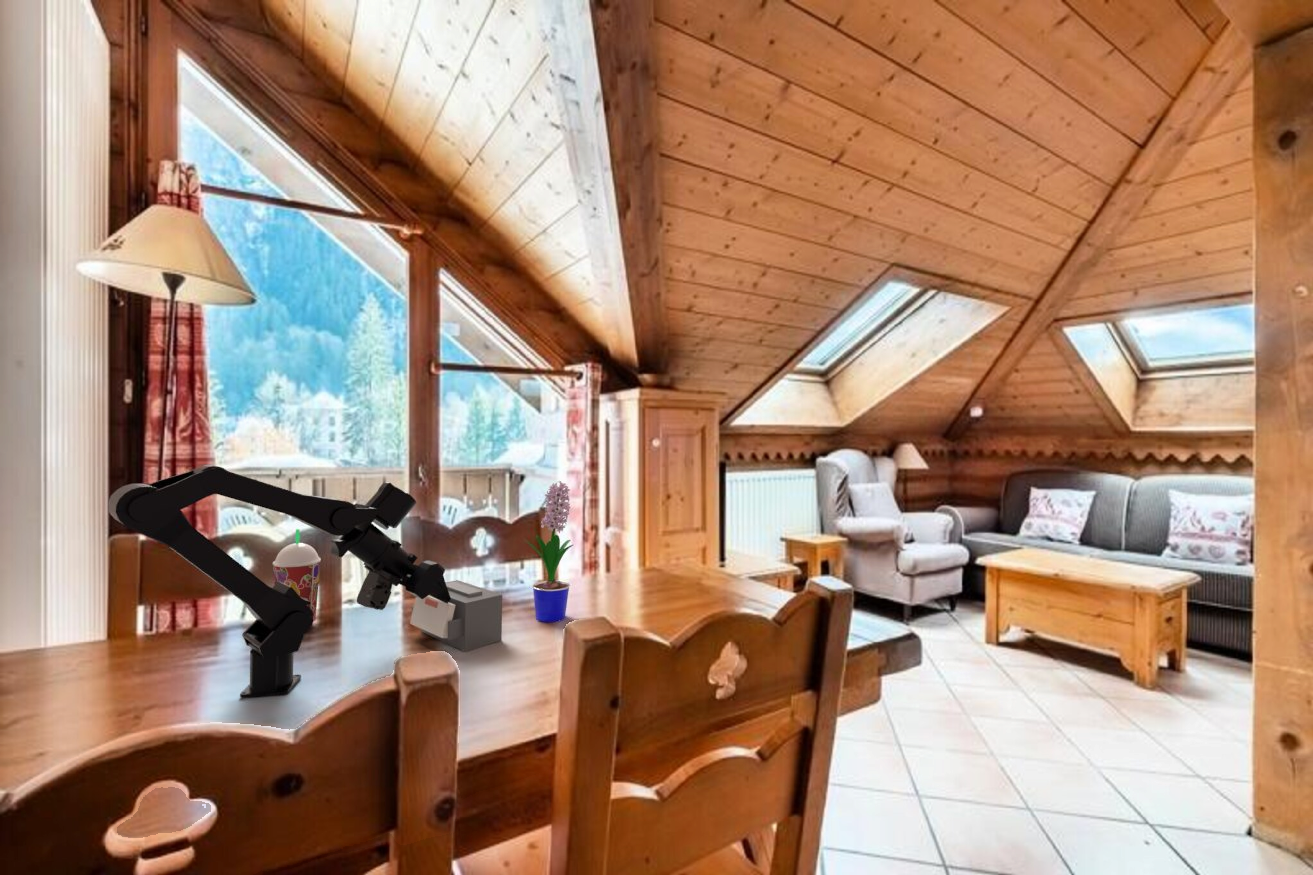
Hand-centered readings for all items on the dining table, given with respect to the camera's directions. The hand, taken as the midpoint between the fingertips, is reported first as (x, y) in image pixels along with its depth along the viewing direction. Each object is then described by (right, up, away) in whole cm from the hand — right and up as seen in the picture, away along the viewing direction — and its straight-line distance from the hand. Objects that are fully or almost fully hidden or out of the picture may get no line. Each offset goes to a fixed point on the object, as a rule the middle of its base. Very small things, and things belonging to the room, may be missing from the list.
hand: (436, 596), depth 114 cm
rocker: (-1, -6, -1) cm, 6 cm away
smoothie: (-31, -8, +7) cm, 33 cm away
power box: (+2, -9, +3) cm, 10 cm away
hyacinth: (+18, -9, +17) cm, 26 cm away
